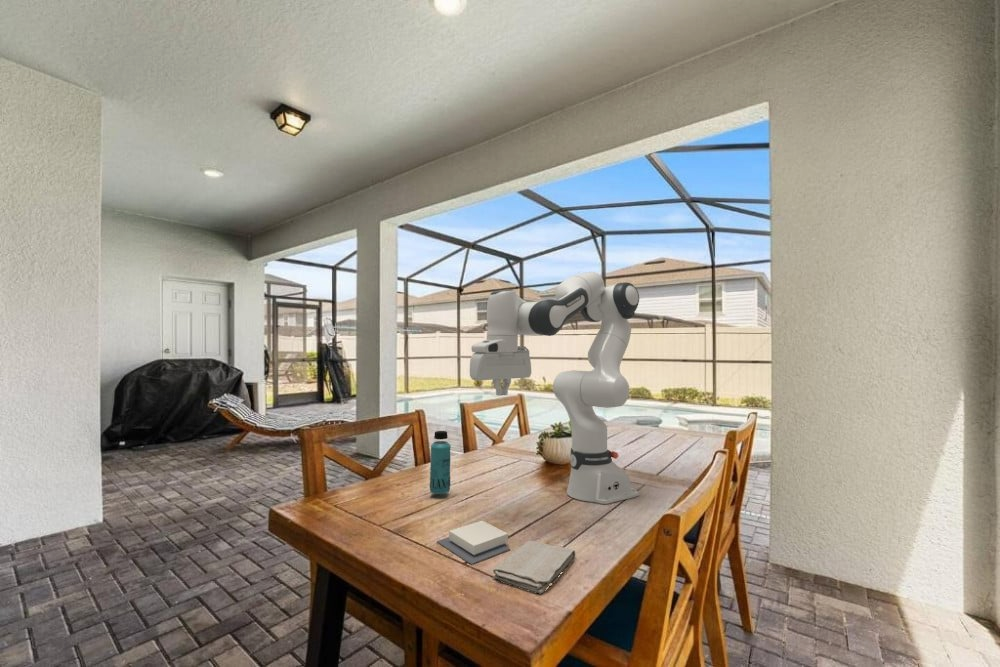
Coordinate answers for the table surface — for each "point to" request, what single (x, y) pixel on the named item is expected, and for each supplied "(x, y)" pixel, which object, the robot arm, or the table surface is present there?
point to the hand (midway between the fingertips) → (501, 395)
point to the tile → (478, 537)
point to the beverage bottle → (440, 465)
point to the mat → (470, 557)
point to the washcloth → (534, 566)
